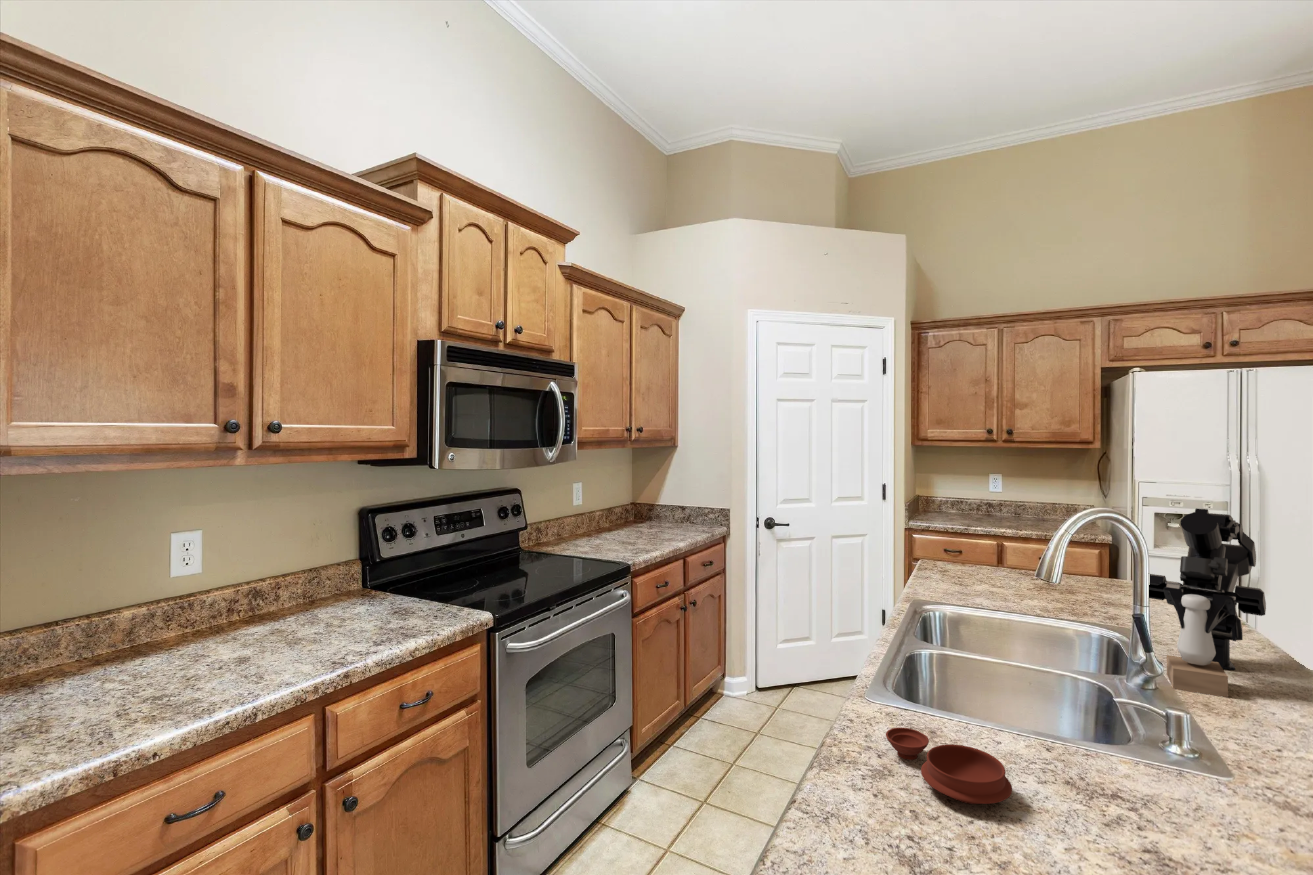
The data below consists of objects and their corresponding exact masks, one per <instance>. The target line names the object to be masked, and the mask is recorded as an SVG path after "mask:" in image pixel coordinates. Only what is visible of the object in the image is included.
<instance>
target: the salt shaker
mask: <svg viewBox="0 0 1313 875" xmlns="http://www.w3.org/2000/svg"><path fill="white" fill-rule="evenodd" d="M1181 603H1182V605H1183V606H1184V607H1186V610H1185V614H1184V619H1183V620H1184V628H1182V629H1181V628H1180V630H1179V636H1178V638H1177V643H1176V648H1177V651H1178V653H1179V656H1180V657H1181V658H1182V660H1184V661H1186V662H1188V663H1191V664H1197V665H1208V664H1210V663H1211V661H1212V660H1213V658H1214V657H1215V655H1216V651H1215V646H1214V642H1213V638H1212V634H1211V632H1210V633H1206V631H1205V629H1206V622H1207V619H1208V616H1207V612H1206V610H1208V609H1210V600H1209V599H1208V598H1206V597H1204V596H1200V595H1193V594H1188V595H1184V596H1182V599H1181Z"/></svg>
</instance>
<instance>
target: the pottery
mask: <svg viewBox="0 0 1313 875" xmlns="http://www.w3.org/2000/svg"><path fill="white" fill-rule="evenodd" d="M885 737H886V739H887V741H888V743H889V744H890V745H891V746H892V748H893V749H894V750H895V751H897V752H896V753H897V755H898V757H899V758H900V759H901V758H902V759H903V760H907V761H914V760H916V759H918V755H920V754H921V753H923V751H924V750H925V749H926V748H927V747H928V745H929V743H930V740H929V737H928V736H927V735H926V734H924V733H922V732H921V731H919V730H916V729H913V728H909V727H893V728H889V729H888V730H887V731H886V732H885ZM920 773H921V776H922V778H923V779H924V781H925V782H926V783H927V784H928V785H929V786H930V787H932V789H935V790H936V791H937V792H939V793H941V794H943V795H945V796H948V797H949V798H952V799H953V800H956V801H958V802H961V803H964V804H965V803H966V804H970V805H971V804H972V805H979V804H980V805H981V804H984V805H985V804H986V805H987V804H996V803H1000V802H1003V801H1006V800H1007V799H1008V798H1010V797H1011V795H1012V794H1013V785H1012V784H1011V782H1010V780H1009V778H1007V776H1006V768H1005V766H1004V765H1003V762H1001V761H1000V760H999V759H998V758H996V757H995V756H993V755H992V754H990V753H987V752H986V751H983V750H981V749H978V748H975V747H971V746H968V745H963V744H961V745H960V744H940V745H937V746H936V745H935V746H933V747H931V748H930V749H928V751H927V753H926V761H924V763H923V764H922V765H921V769H920Z"/></svg>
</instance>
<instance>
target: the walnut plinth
mask: <svg viewBox="0 0 1313 875" xmlns="http://www.w3.org/2000/svg"><path fill="white" fill-rule="evenodd" d="M1166 676H1167V678H1168V680H1169V683H1170V685H1171V687H1172V688H1173V689H1174V690H1179V691H1186V692H1192V693H1197V692H1198V694H1203V695H1209V694H1210V695H1211V696H1217V697H1221V696H1223V697H1224V698H1229V676H1228V674H1227V673H1226V671H1225V669H1223V668H1222V667H1221V666H1220V664H1219V663H1218V662H1212V661H1211V663H1210V664H1208V665H1197V664H1191V663H1188V662H1186V661H1184V660H1182V658H1181V656H1176V655H1169V654H1168V655H1166Z"/></svg>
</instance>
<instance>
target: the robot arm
mask: <svg viewBox="0 0 1313 875" xmlns="http://www.w3.org/2000/svg"><path fill="white" fill-rule="evenodd" d="M1180 527H1181V531H1182V534H1183V537H1184V542H1185V545H1186V546H1187V547H1188V551H1187V556H1180V566H1179V573H1180V576H1179V579H1180V581H1181V582H1182V583H1181V582H1177V581H1170V580H1167V577H1166V575H1160V574H1155V573H1154V574H1153V573H1149V574H1150V585H1149V598H1148V599H1151V600H1157V601H1158V600H1159V601H1165V600H1166V603H1167V604H1168V605H1171V606H1173V608H1174V609H1175V611H1176V613H1177V617H1178V618H1177V619H1178V622H1179V625H1180V630H1181V629H1182V628H1184V620H1183V619H1184V614H1185V610H1186V607H1184V606H1183V605H1182V603H1181V599H1182V596H1184V595H1188V594H1193V595H1200V596H1204V597H1206V598H1208V599H1209V600H1210V609H1208V610H1206V612H1207V616H1208V619H1207V622H1206V629H1205V631H1206V633H1210V632H1211V634H1212V638H1213V642H1214V646H1215V651H1216V655H1215V657H1214V658H1213V660H1212V662H1218V663H1219V664H1220V666H1221V667H1222V669H1223V670H1232V671H1235V670H1236V667H1235V665H1234V664H1233V663H1232V661H1231V650H1230V649H1231V647H1230V646H1231V645H1230V644H1231V643H1230V642H1231V641H1232V642H1237V641H1243V637H1244V636H1243V626H1242V620H1241V619H1240V617H1239V616H1238V612H1237V609H1238V610H1239V611H1240V612H1242V613H1243V614H1247V615H1252V616H1253V615H1254V616H1260V617H1262V616H1265V615H1266V611H1267V602H1266V595H1265V592H1264V591H1263V590H1262V589H1261V588H1260V587H1259V588H1258V587H1251V586H1243V585H1237V581H1238V578H1239V577H1243V576H1247V575H1249V574H1250V573H1251V570H1252V568H1255V567H1256V565H1257V551H1256V545H1255V541H1254V540H1253V539H1252V538H1251V537H1249V535H1248V534H1246V533H1245V532H1244V529H1243V524H1242V523H1239V522H1237V521H1236V520H1235V519H1234V518H1233V517H1232V516H1231V515H1230V514H1224V513H1210V511H1209V509H1208V508H1195V510H1194V511H1193V512H1191V513H1188V514H1186V515H1184V516H1182V518H1181V519H1180ZM1232 540H1235V541H1237V543H1238V544H1233V543H1232V544H1231V543H1230V544H1229V542H1231V541H1232ZM1223 542H1224V543H1223ZM1226 542H1227V543H1226ZM1236 606H1237V609H1236Z"/></svg>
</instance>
